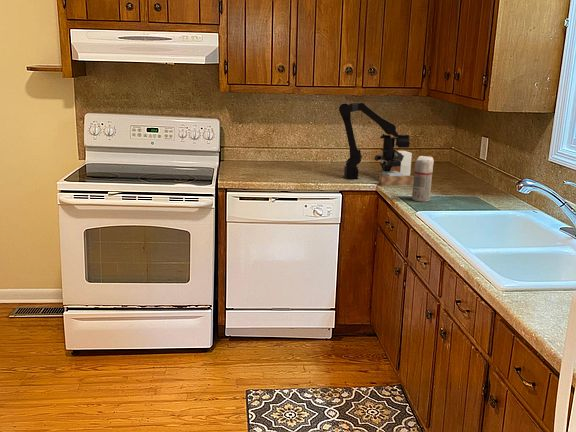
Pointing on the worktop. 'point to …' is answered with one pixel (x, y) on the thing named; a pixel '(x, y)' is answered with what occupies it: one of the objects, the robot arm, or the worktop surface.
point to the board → (396, 180)
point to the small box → (404, 163)
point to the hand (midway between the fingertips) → (386, 176)
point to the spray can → (422, 178)
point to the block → (391, 173)
